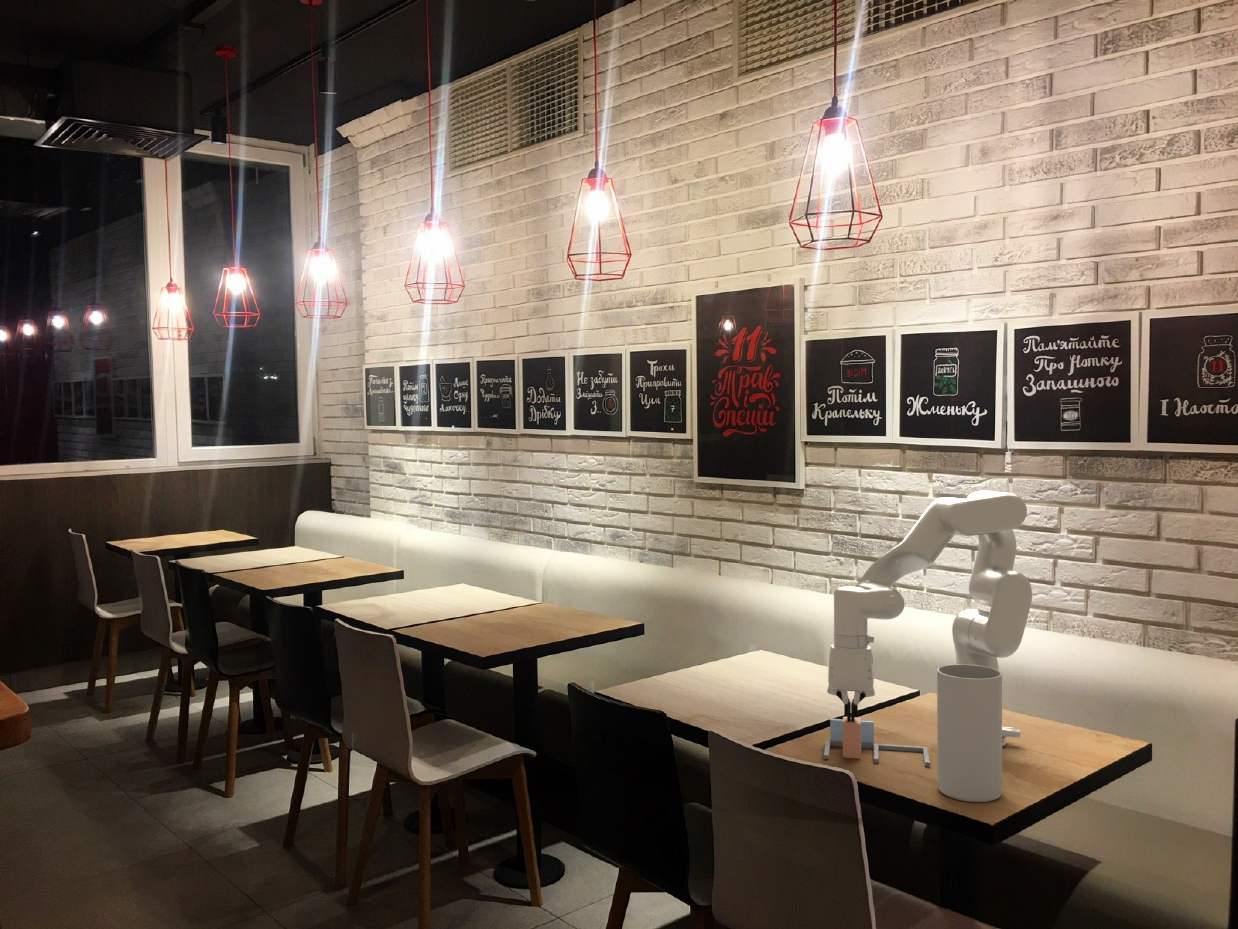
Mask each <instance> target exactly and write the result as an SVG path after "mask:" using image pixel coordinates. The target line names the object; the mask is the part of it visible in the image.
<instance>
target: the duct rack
mask: <svg viewBox="0 0 1238 929" xmlns="http://www.w3.org/2000/svg"><path fill="white" fill-rule="evenodd" d="M829 722H830V724H829V725H830V729H829V730H830V734H829V735H830V736H829V737H830V740H827V739H826V740H825V746H824V753H823V760H824V759H825V761H827V760H826V759H828V760H829V759H830V751H831V747H838V748H839V747H840V748H843V719H840V718H830V720H829ZM874 724H875V722H874V721H873V720H872V721H871V720H861V749H867V750H868V749H869V750H870V749H871V750H873V763H874V764H879V750H882V749H883V750H882V751H884V750H885V751H898V752H913V753H922V755H923V760H924V767H927V768H930V767H931V761H930V756H929V749H928V746H918V745H917V746H915V745H902V744H900V745H899V744H888V743H886V744H885V743H875V741H874V740H875V725H874Z"/></svg>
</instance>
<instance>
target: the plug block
mask: <svg viewBox="0 0 1238 929" xmlns="http://www.w3.org/2000/svg"><path fill="white" fill-rule="evenodd" d="M842 720H843V747H842V758H844V757H845V759H846V758H847V759H857V760H858V759H860V760H861V759H862V748H861V721H862V717H858V718H857V717H855V721H854V722H852V721H850V722H847V717H844V716H843V717H842Z"/></svg>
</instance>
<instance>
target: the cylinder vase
mask: <svg viewBox="0 0 1238 929" xmlns="http://www.w3.org/2000/svg"><path fill="white" fill-rule="evenodd" d="M936 679H937V680H936V687H937V688H936V697H937V698H936V700H937V701H936V707H937V708H936V714H937V715H936V716H937V717H936V718H937V719H936V727H937V728H936V729H937V733H936V734H937V736H936V739H937V742H936V744H937V750H936V751H937V752H936V754H937V756H936V757H937V758H936V759H937V762H936V763H937V765H936V766H937V768H936V771H937V783H936V784H937V788H938V790H939V792H940V793H942V794H943V795H945V796H947V797H949V798H951V799H954V800H957V801H962V802H969V803H988V802H993V801H996V800H997V799H999V798H1000V797H1001V796H1002V794H1003V747H1002V727H1003V673H1002V672H1001V671H1000V670H996V669H993V668H989V667H985V666H978V665H966V664H955V663H954V664H945V665H942V666H939V667H938V668H936Z"/></svg>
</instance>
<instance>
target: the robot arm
mask: <svg viewBox="0 0 1238 929" xmlns="http://www.w3.org/2000/svg"><path fill="white" fill-rule="evenodd" d="M1027 514H1028V506H1027V504H1026V502H1025V501H1024V500H1023V498H1022V497H1021V496H1020V495H1017V494H1015V493H1013V492H1012V493H1011V492H1002V491H992V490H977V491H973V492H971V493H969V495H968V496H967V497H966V498H958V497H950V496H949V497H948V496H947V497H939V498H936V499H934V500H933V502H931V504H929V506H928V507H927V508H926V510H925V511H924V512H923V514H921V516H920V517H919V519H918V521H917V522H916V523H915V524H914V525H913V527H912V528H911V529H910V531H908V534H906V536H905V537H904V538H903V539H902V541H901V542H900V543H899V544H898V545H895V547H892V548H891V549H890V550H888V552H885V554H883V555H881V556H880V557H879V558H878V559H876V560H875V561H874V562H873V563H872V564H871V565H870V566H869V568H867V569H866V571H865V572H864V574H863V575H862V576H861V578H860V579H859V580H858V581H857V583H856V585H855V586H840V587H838V588H836V589H834V593H833V644H831V645H830V650H829V656H828V657H829V658H828V670H827V671H828V672H827V673H828V674H827V678H828V679H827V682H828V686H827V690H826V691H827V694H828V695H832V696H836V697H837V698H839V699H840V701H842V703H843V704H844V707H843V708H844V710H843V712H844V714H843V715H844V716H843V717H847V722H850V721H852V722H854V721H855V717H857V718H859V717H858V716H859V714H858V713H859V712H858V711H859V709H858V708H859V707H858V706H859V703H861V702H862V701H863V700H864V699H865V698H871V697H874V696H876V692H875V688H874V683H875V678H874V676H875V675H874V659H873V658H874V657H873V652H872V648H871V646H870V645H869V644H874V643H875V637H874V636H869V634H868V619H873V620H874V619H875V620H887V621H888V620H892V619H896V618H898V617H899V616H900V615H901V614H902V613H903V611H904V609H905V598H904V597H903V594H902V593H901V592H900V591H898V590H897V589H896V588H893V587H892V586H893V585H894V584H895V583H896V582H898V581H899V580H901V578H904V577H905V576H906V575H907V576H908V575H909V574H912V573H914V572H918V571H921V570H924V569H926V568H928V567H931V566H932V565H933V564H934V563H935V561H936V560H937V559H938V557H939V556H940V555H941V554H942V552H943V550H945V548H946V547H947V545H948V544H949V543H950V542H951V540H952V539H953V538H954V536H955V535H956V536H963V537H973V536H978V546H977V547H978V548H977V553H976V556H975V561H974V564H973V567H972V572H971V576H970V579H969V587H968V592H969V595H970V597H971V599H972V600H974V601H975V602H976V603H979V604H981V605H984V606H987V607H990V609H989V611H987V610H982V609H979V608H967V609H964V610H962V611H960V612H959V613H958V614H957V615H956V617H955V618H954V620H953V621H952V629H951V632H952V634H951V635H952V640H953V644H954V651H955V662H956V664H966V665H978V666H985V667H989V668H993V669H996V670H999V663H998V658H999V659H1004V658H1008V657H1010V656H1012V655H1014V654H1015V653H1016V652H1017V650H1018V649H1019V647H1020V645H1021V643H1022V641H1023V636H1024V633H1025V629H1026V625H1027V621H1028V617H1029V615H1030V614H1029V613H1030V610H1031V605H1032V602H1033V588H1032V585H1031V582H1030V581H1029V578H1028V577H1027V576H1026V575H1024V573H1022V572H1019V571H1018V570H1014V566H1015V565H1014V564H1015V559H1016V555H1017V554H1016V553H1017V539H1016V535H1015V532H1014V530H1015V529H1017V528H1018V527H1020V526H1021V525H1022V524H1023V523H1024V522H1025V520H1026V518H1027ZM999 671H1000V670H999ZM848 692H854V694H853V699H852V701H851V699H850V698H849V693H848ZM1007 737H1008V738H1014V739H1015V738H1017V739H1018V738H1019V739H1020V738H1021V730H1020V729H1018V728H1017V729H1016V728H1014V727H1013V726H1002V748H1003V747H1004V746H1005V745H1006V744H1007V743H1006V742H1007V739H1006V738H1007Z"/></svg>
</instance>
